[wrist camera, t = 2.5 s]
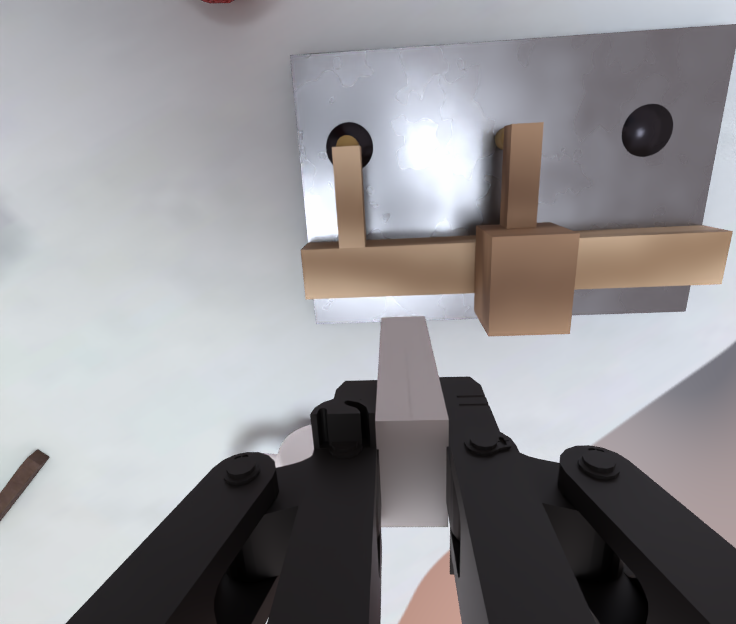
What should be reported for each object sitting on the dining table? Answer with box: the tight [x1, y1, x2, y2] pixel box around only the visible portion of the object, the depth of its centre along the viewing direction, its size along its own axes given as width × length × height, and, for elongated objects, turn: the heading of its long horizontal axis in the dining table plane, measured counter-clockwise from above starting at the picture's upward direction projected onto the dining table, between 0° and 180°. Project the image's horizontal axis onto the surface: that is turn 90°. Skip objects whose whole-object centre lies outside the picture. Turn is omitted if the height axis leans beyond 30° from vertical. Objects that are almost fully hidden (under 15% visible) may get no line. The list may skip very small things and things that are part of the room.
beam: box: [301, 135, 733, 299], centre depth 25 cm, size 9×24×2 cm, turn 93°
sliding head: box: [474, 122, 580, 336], centre depth 23 cm, size 10×4×6 cm, turn 3°
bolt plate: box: [290, 24, 736, 324], centre depth 27 cm, size 16×24×1 cm, turn 93°
